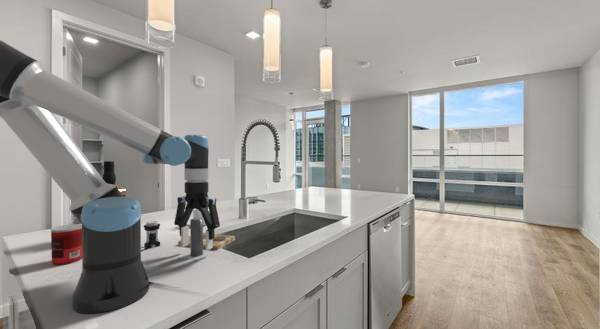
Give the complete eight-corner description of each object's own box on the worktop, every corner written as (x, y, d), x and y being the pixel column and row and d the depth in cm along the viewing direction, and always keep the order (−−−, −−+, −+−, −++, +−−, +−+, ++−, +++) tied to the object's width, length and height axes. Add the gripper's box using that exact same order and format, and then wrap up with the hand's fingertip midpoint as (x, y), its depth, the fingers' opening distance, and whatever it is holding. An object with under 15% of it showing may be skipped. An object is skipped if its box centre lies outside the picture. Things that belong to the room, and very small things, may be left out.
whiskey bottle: (107, 240, 106) (106, 161, 105) (88, 238, 109) (87, 161, 108) (129, 233, 116) (129, 161, 115) (112, 231, 119) (111, 160, 118)
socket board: (217, 252, 94) (217, 245, 94) (178, 247, 99) (178, 240, 99) (234, 242, 105) (234, 235, 105) (199, 238, 110) (199, 231, 110)
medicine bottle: (206, 221, 139) (206, 199, 138) (212, 224, 133) (212, 200, 133) (192, 223, 134) (192, 200, 134) (197, 226, 129) (197, 202, 128)
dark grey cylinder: (197, 257, 87) (197, 221, 87) (187, 255, 88) (187, 220, 88) (205, 253, 91) (205, 218, 90) (195, 251, 92) (195, 217, 92)
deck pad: (199, 263, 84) (199, 260, 84) (178, 260, 87) (178, 257, 87) (214, 254, 92) (214, 251, 92) (194, 252, 94) (194, 249, 94)
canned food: (87, 254, 91) (86, 223, 91) (77, 263, 84) (76, 229, 83) (59, 257, 88) (58, 225, 88) (46, 266, 81) (45, 231, 80)
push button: (142, 254, 92) (142, 225, 92) (137, 250, 96) (137, 223, 95) (162, 249, 97) (162, 222, 97) (157, 245, 101) (157, 219, 100)
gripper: (231, 181, 89) (231, 247, 90) (178, 179, 95) (178, 240, 96) (218, 183, 82) (218, 254, 83) (161, 180, 88) (162, 247, 89)
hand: (196, 247), depth 89 cm, fingers open, 9 cm apart
